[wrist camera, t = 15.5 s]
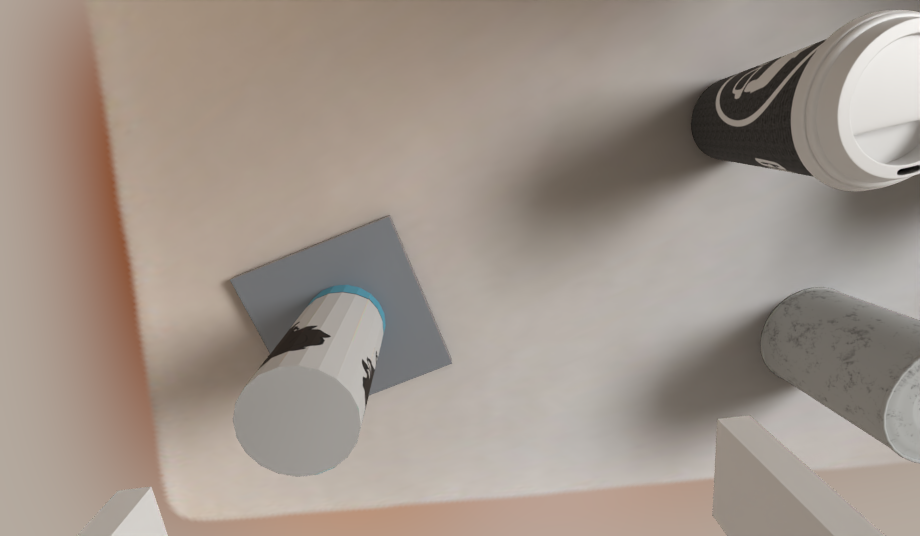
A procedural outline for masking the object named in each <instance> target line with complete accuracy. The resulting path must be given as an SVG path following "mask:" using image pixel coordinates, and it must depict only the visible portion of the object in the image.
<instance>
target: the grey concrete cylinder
mask: <svg viewBox="0 0 920 536" xmlns="http://www.w3.org/2000/svg"><path fill="white" fill-rule="evenodd" d="M760 346H761V354H762V357H763V360H764V362H765V364H766V365H767V367H768V368H769V369H770V371H772V372H773V373H774V374H775V375H777V376H778V377H780V378H782V379H784V380H786V381H787V382H789V383H791V384H792V385H794V386H795V387H797V388H798V389H800V390H801V391H803V392H804V393H806V394H808V395H809V396H811V397H812V398H814V399H815V400H817V401H818V402H820V403H821V404H823V405H824V406H826V407H828V408H829V409H831V410H832V411H834V412H835V413H837V414H838V415H840V416H841V417H843V418H845V419H846V420H848V421H849V422H851V423H852V424H854V425H855V426H857V427H858V428H860V429H862V430H863V431H865V432H866V433H868V434H869V435H871V436H872V437H874V438H875V439H877V440H878V441H880V442H882V443H883V444H885V445H886V446H888V447H889V448H891V449H892V450H893V451H894V452H896V453H897V454H898V455H899V456H901V457H902V458H905V459H907V460H909V461H912V462H915V463H920V320H917V319H915V318H912V317H909V316H906V315H903V314H900V313H897V312H895V311H892V310H889V309H886V308H883V307H880V306H877V305H874V304H872V303H869V302H866V301H863V300H860V299H857V298H854V297H852V296H849V295H846V294H843V293H841V292H839V291H837V290H835V289H830V288H825V287H819V288H809V289H806V290H802V291H799V292H797V293H795V294H793V295H791V296H789V297H788V298H787V299H785V300H784V301H783V302H781V303H780V304H779V305H778V306H777V307H776V308H775V309H774V311H773V312H772V313H771V315H770V316H769V318H768V319H767V321H766V323H765V326H764V328H763V331H762V335H761V342H760Z"/></svg>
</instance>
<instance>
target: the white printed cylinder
mask: <svg viewBox="0 0 920 536" xmlns="http://www.w3.org/2000/svg"><path fill="white" fill-rule="evenodd" d="M385 326H386V324H385V315H384V312H383V310H382V307H381V305H380V303H379V302H378V301H377V300H376V299H375V298H374V297H373V296H372V294H370V293H369V292H367V291H365V290H363V289H362V288H360V287H355V286H351V285H337V286H332V287H330V288H327V289H325V290H323V291H321V292H320V293H319V294H318V295H317V296H316V297H314V298H313V299H312V301H311V302H310V303H309V305H308V306H307V307H306V308H305V310H304V311H303V312H302V314H301V315H300V316H299V318H298V319H297V320H296V321H295V323H294V324H293V325H292V327H291V328H290V329H289V330H288V332H287V333H286V334H285V336H284V337H283V338H282V339H281V341H280V342H279V343H278V345H277V346H276V347H275V349H274V350H273V351H272V352H271V354H270V355H269V356H268V358H267V359H266V360H265V361H264V363H263V364H262V365H261V367H260V368H259V369H258V371H257V372H256V373H255V374H254V376H253V377H252V378H251V380H250V381H249V382H248V383H247V385H246V386H245V387H244V389H243V391H242V393H241V394H240V396H239V398H238V400H237V401H236V403H235V410H234V416H233V423H234V428H235V432H236V437H237V439H238V441H239V442H240V444H241V446H242V447H243V449H244V450H245V452H246V453H247V454H248V455H249V456H250V457H251V458H252V459H254V460H255V461H256V462H257V463H258V464H259V465H261V466H263V467H265V468H267V469H269V470H271V471H274V472H276V473H278V474H284V475H290V476H296V477H300V476H310V475H317V474H320V473H322V472H325V471H327V470H330V469H332V468H334V467H336V466H337V465H338V464H339V463H341V462H342V461H343V460H344V459H346V458H347V457H348V456H349V454H350V453H351V451H352V450H353V448H354V447H355V445H356V443H357V441H358V437H359V433H360V429H361V425H362V421H363V417H364V413H365V408H366V404H367V400H368V396H369V392H370V388H371V384H372V380H373V376H374V372H375V367H376V363H377V359H378V355H379V351H380V347H381V343H382V339H383V335H384V330H385Z"/></svg>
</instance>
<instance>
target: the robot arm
mask: <svg viewBox="0 0 920 536" xmlns="http://www.w3.org/2000/svg"><path fill="white" fill-rule="evenodd" d="M713 517H714V518H715V519H716V521H717V522H718V524H719V525H720V526H721V528H722V529H723V531H724V532H725V533H726V535H727V536H886V535H884V533H882V532H881V531H880V530H879V529H878V528H877V527H876V526H874V525H873V524H872V523H871V522H870V521H869V520H868V519H867V518H865V517H864V516H863V515H862V514H861V513H860V512H859V511H858V510H856V509H855V508H854V507H853V506H852V505H851V504H850V503H848V502H847V501H846V500H845V499H844V498H843V497H842V496H841V495H839V494H838V493H837V492H836V491H835V490H834V489H833V488H831V487H830V486H829V485H828V484H827V483H826V482H825V481H824V480H823V479H821V478H820V477H819V476H818V475H817V474H816V473H815V472H813V471H812V470H811V469H810V468H809V467H808V466H807V465H806V464H804V463H803V462H802V461H801V460H800V459H799V458H798V457H797V456H795V455H794V454H793V453H792V452H791V451H790V450H789V449H787V448H786V447H785V446H784V445H783V444H782V443H781V442H780V441H778V440H777V439H776V438H775V437H774V436H773V435H772V434H771V433H769V432H768V431H767V430H766V429H765V428H764V427H763V426H761V425H760V424H759V423H758V422H757V421H756V420H755V419H754V418H752V417H751V416H750V415H747V416H738V417H730V418H722V419H717V437H716V456H715V475H714V494H713ZM77 536H168V534H167V531H166V529H165V526H164V523H163V520H162V517H161V514H160V511H159V508H158V505H157V503H156V499H155V496H154V493H153V490H152V487H145V488H137V489H128V490H120V491H117V492H116V493H115V494H114V495H113V496H112V497H111V499H110V500H109V501H108V502H107V503H106V504H105V505H104V506H103V507H102V509H100V511H99V512H98V513H97V514H96V515H95V516H94V517H93V518H92V519H91V521H90V522H89V523H88V524H87V525H86V526H85V527H84V528H83V529H82V530H81V531H80V533H79V534H78V535H77Z"/></svg>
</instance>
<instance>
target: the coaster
mask: <svg viewBox="0 0 920 536" xmlns="http://www.w3.org/2000/svg"><path fill="white" fill-rule="evenodd" d="M230 281H231V283H232V285H233V286H234V288H235V290H236V292H237V294H238V296H239V297H240V299H241V301H242V303H243V305H244V307H245V308H246V310H247V312H248V314H249V316H250V318H251V320H252V321H253V323H254V325H255V327H256V329H257V331H258V332H259V334H260V336H261V338H262V340H263V342H264V343H265V345H266V347H267V349H268V351H269V353H270V354H271V352H272V351H273V350H274V349H275V347H276V346H277V345H278V343H279V342H280V341H281V339H282V338H283V337H284V336H285V334H286V333H287V332H288V330H289V329H290V328H291V327H292V325H293V324H294V323H295V321H296V320H297V319H298V318H299V316H300V315H301V314H302V312H303V311H304V310H305V308H306V307H307V306H308V305H309V303H310V302H311V301H312V299H313V298H314V297H316V296H317V295H318V294H319V293H320V292H321V291H323V290H325V289H327V288H330V287H332V286H337V285H351V286H355V287H360V288H362V289H363V290H365V291H367V292H369V293H370V294H372V296H373V297H374V298H375V299H376V300H377V301H378V302H379V303H380V305H381V307H382V310H383V312H384V315H385V324H386V326H385V330H384V335H383V339H382V343H381V347H380V351H379V355H378V359H377V363H376V367H375V372H374V376H373V380H372V384H371V388H370V392H369V395H371V394H374V393H377V392H379V391H382V390H384V389H387V388H390V387H392V386H395V385H397V384H400V383H403V382H405V381H408V380H410V379H413V378H415V377H418V376H421V375H423V374H426V373H428V372H431V371H434V370H436V369H439V368H441V367H444V366H447V365H449V364H452V360H451V357H450V354H449V352H448V350H447V347H446V345H445V343H444V340H443V338H442V336H441V333H440V331H439V329H438V326H437V324H436V322H435V319H434V317H433V315H432V312H431V310H430V308H429V305H428V303H427V301H426V298H425V296H424V294H423V291H422V289H421V287H420V284H419V282H418V280H417V277H416V275H415V273H414V271H413V268H412V266H411V264H410V261H409V259H408V257H407V254H406V252H405V250H404V247H403V245H402V243H401V240H400V238H399V236H398V233H397V231H396V229H395V226H394V224H393V222H392V219H391V217H390V215H389V216H386V217H384V218H381V219H379V220H376V221H374V222H371V223H369V224H366V225H364V226H361V227H358V228H356V229H353V230H351V231H348V232H346V233H343V234H341V235H338V236H336V237H333V238H331V239H328V240H326V241H323V242H321V243H318V244H316V245H313V246H311V247H308V248H306V249H303V250H301V251H298V252H296V253H293V254H291V255H288V256H286V257H283V258H281V259H278V260H276V261H273V262H271V263H268V264H266V265H263V266H260V267H258V268H255V269H253V270H250V271H248V272H245V273H243V274H240V275H238V276H235V277H234V278H232V279H231V280H230Z"/></svg>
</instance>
